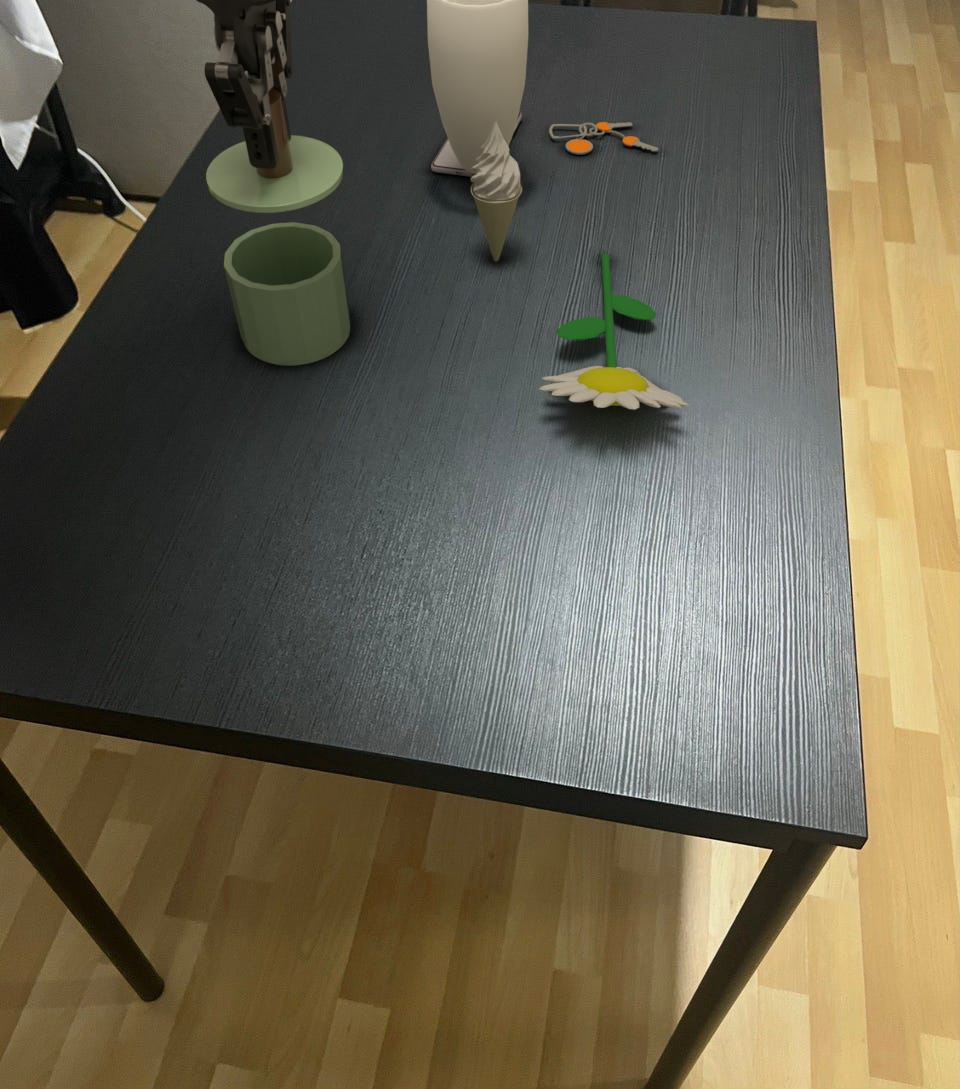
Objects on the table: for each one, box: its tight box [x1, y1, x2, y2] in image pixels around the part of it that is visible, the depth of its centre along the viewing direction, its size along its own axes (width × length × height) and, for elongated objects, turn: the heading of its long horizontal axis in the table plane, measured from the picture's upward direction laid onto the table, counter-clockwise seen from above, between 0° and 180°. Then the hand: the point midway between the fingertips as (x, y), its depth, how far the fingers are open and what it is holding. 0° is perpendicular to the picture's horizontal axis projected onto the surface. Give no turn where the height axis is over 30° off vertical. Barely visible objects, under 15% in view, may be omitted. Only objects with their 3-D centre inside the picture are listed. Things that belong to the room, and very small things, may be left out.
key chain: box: [548, 121, 660, 155], centre depth 118 cm, size 13×7×1 cm, turn 88°
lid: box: [205, 89, 345, 214], centre depth 80 cm, size 11×11×7 cm
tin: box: [223, 221, 352, 367], centre depth 93 cm, size 10×10×8 cm
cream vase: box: [426, 0, 529, 173], centre depth 104 cm, size 10×10×22 cm
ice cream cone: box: [469, 120, 523, 262], centre depth 98 cm, size 5×5×15 cm
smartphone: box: [430, 111, 523, 178], centre depth 118 cm, size 7×1×15 cm
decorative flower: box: [538, 253, 689, 411], centre depth 92 cm, size 13×5×30 cm
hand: (271, 153), depth 81 cm, fingers closed on lid, 3 cm apart
